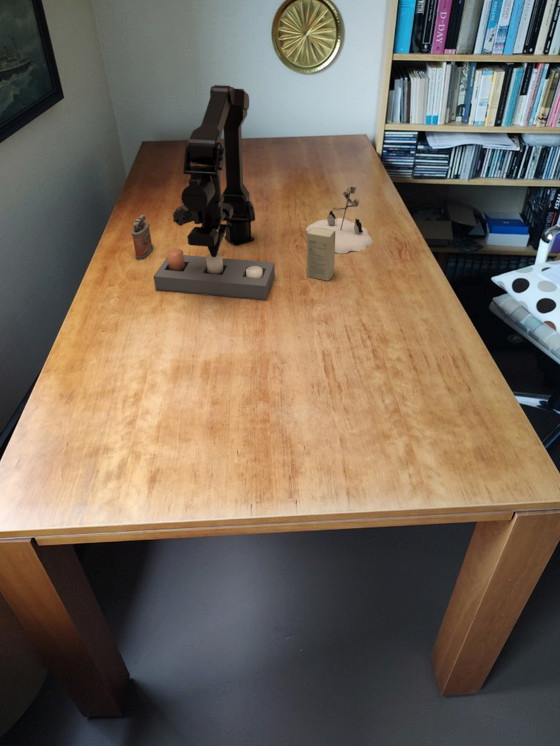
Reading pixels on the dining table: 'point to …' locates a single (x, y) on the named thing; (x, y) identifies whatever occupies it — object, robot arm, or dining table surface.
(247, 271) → the button
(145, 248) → the lighter
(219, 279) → the button panel
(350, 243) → the figurine
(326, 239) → the skincare box
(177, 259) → the terracotta button
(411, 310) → the dining table surface
